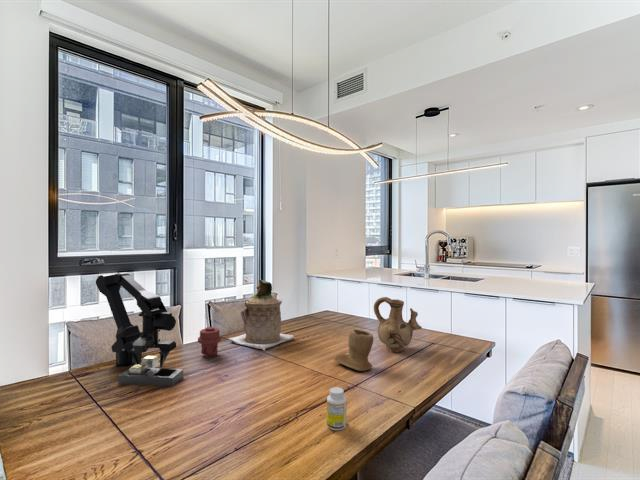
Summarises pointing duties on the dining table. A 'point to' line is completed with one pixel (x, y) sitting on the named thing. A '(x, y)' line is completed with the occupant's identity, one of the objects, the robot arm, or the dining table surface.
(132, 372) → the beige block
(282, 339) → the cookie jar
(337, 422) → the supplement bottle
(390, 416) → the dining table surface
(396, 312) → the ceramic vessel
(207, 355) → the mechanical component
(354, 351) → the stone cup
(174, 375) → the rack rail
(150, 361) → the cream two-tone block
